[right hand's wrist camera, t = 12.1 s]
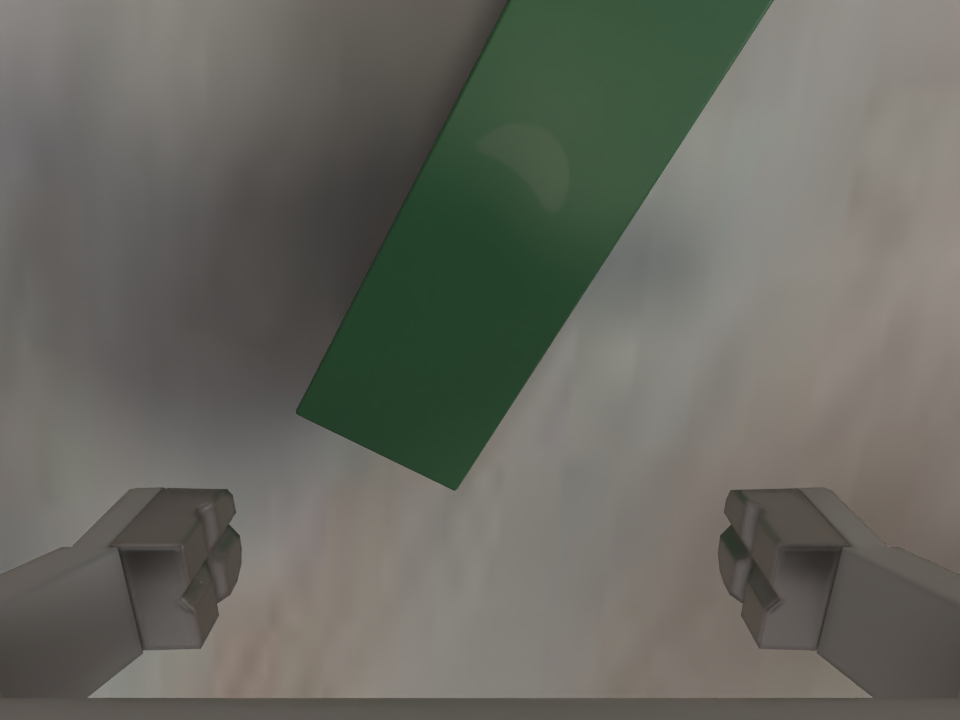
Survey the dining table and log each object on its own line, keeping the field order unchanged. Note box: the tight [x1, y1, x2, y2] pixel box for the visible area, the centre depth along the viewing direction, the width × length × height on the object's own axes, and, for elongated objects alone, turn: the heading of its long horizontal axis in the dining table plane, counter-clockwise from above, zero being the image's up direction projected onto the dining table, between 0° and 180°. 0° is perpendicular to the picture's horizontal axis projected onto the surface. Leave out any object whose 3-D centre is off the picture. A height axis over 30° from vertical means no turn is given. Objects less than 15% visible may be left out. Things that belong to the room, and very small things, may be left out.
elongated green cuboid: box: [296, 0, 774, 490], centre depth 19 cm, size 17×5×8 cm, turn 150°
